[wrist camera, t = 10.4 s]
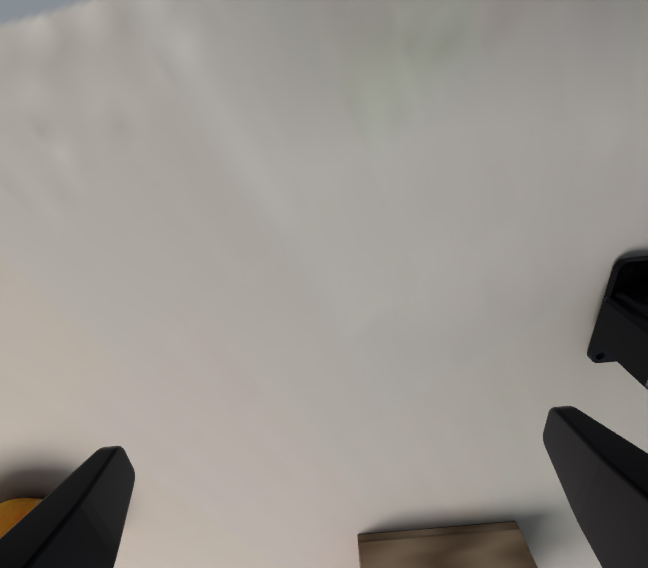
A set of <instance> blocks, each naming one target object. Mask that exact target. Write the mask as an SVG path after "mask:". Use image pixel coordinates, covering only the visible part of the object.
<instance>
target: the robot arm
mask: <svg viewBox="0 0 648 568" xmlns="http://www.w3.org/2000/svg"><path fill="white" fill-rule="evenodd" d="M626 267H627V269H625V268H626ZM624 269H625V270H624ZM623 270H624V271H623ZM587 356H588V357H589V358H590V359H591V360H592V361H593V362H594V363H604V362H615V361H617V362H618V363H619V364H621V365H622V366H623V367H624V368H625V369H626V370H627V371H628V372H629V373H630V374H631V375H632V376H633V377H634V378H635V379H636V380H638V381H639V382H640V383H641V384H642V385H643V386H644V387H645V388H646V389H648V256H644V257H633V258H624V259H621V260H619V261H618V262H617V263H616V264H615V265H614V267H613V269H612V272H611V276H610V279H609V282H608V286H607V289H606V292H605V296H604V299H603V302H602V305H601V309H600V312H599V315H598V319H597V322H596V325H595V328H594V332H593V335H592V338H591V342H590V345H589V348H588V352H587ZM543 441H544V445H545V447H546V450H547V452H548V454H549V457H550V459H551V462H552V464H553V466H554V469H555V471H556V473H557V476H558V478H559V480H560V483H561V485H562V487H563V490H564V492H565V494H566V497H567V499H568V501H569V504H570V506H571V508H572V510H573V513H574V515H575V517H576V519H577V521H578V523H579V525H580V527H581V529H582V531H583V533H584V535H585V536H586V538H587V540H588V542H589V544H590V546H591V547H592V549H593V551H594V553H595V555H596V557H597V558H598V560H599V562H600V564H601V566H602V568H648V453H646V452H645V451H643V450H641V449H640V448H638V447H637V446H635V445H633V444H632V443H630V442H629V441H627V440H626V439H624V438H622V437H621V436H619V435H618V434H616V433H615V432H613V431H611V430H610V429H608V428H607V427H605V426H604V425H602V424H600V423H599V422H597V421H596V420H594V419H592V418H591V417H589V416H588V415H586V414H585V413H583V412H581V411H580V410H578V409H577V408H575V407H572V406H561V407H553V408H551V409H550V410H549V413H548V417H547V421H546V424H545V428H544V432H543ZM134 482H135V472H134V468H133V466H132V464H131V462H130V460H129V458H128V456H127V454H126V452H125V450H124V449H123V448H122V447H121V446H111V447H103V448H100V449H99V450H97V451H96V452H95V453H94V454H93V455H92V456H90V457H89V458H88V459H87V460H86V461H85V462H84V463H83V464H82V465H80V466H79V467H78V468H77V469H76V470H75V471H74V472H73V473H72V474H71V475H69V476H68V477H67V478H66V479H65V480H64V481H63V482H62V483H61V484H59V485H58V486H57V487H56V488H55V489H54V490H53V491H52V492H51V493H50V494H48V495H47V496H46V497H45V498H44V499H43V500H42V501H41V502H40V503H38V504H37V505H36V506H35V507H34V508H33V509H32V510H31V511H30V512H29V513H27V514H26V515H25V516H24V517H23V518H22V519H21V520H20V521H19V522H18V523H16V524H15V525H14V526H13V527H12V528H11V529H10V530H9V531H8V532H6V533H5V534H4V535H3V536H2V537H1V538H0V568H113V567H114V564H115V561H116V557H117V553H118V549H119V545H120V541H121V537H122V533H123V528H124V524H125V520H126V516H127V512H128V507H129V503H130V499H131V495H132V491H133V486H134Z"/></svg>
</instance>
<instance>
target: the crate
mask: <svg viewBox="0 0 648 568" xmlns="http://www.w3.org/2000/svg"><path fill="white" fill-rule="evenodd" d="M358 548H359V562H360V568H537V566H536V564H535V562H534V559H533V557H532V555H531V553H530V551H529V549H528V546H527V544H526V542H525V540H524V538H523V536H522V533H521V531H520V529H519V527H518V525H517V523H516V522H504V523H492V524H481V525H469V526H457V527H445V528H433V529H422V530H410V531H398V532H386V533H374V534H363V535H358Z"/></svg>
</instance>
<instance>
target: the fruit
mask: <svg viewBox="0 0 648 568" xmlns="http://www.w3.org/2000/svg"><path fill="white" fill-rule="evenodd" d="M42 500H43V499H35V498H17V499H12V500H8V501H5V502H2V503H0V538H1V537H2V536H3V535H4V534H5V533H6V532H8V531H9V530H10V529H11V528H12V527H13V526H14V525H15V524H16V523H18V522H19V521H20V520H21V519H22V518H23V517H24V516H25V515H26V514H27V513H29V512H30V511H31V510H32V509H33V508H34V507H35V506H36V505H37V504H38V503H40V502H41V501H42Z"/></svg>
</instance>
